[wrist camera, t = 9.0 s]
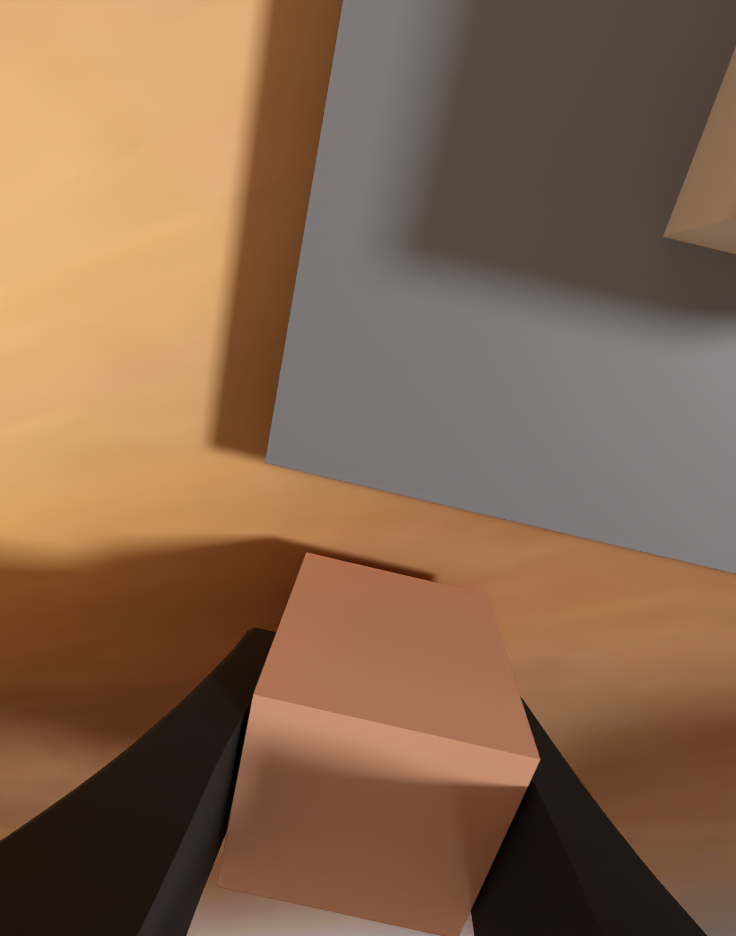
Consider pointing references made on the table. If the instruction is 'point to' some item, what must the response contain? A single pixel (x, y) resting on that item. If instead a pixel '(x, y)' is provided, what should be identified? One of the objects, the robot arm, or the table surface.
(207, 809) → the robot arm
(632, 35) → the base board
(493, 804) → the terracotta cube
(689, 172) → the birch block
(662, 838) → the table surface
